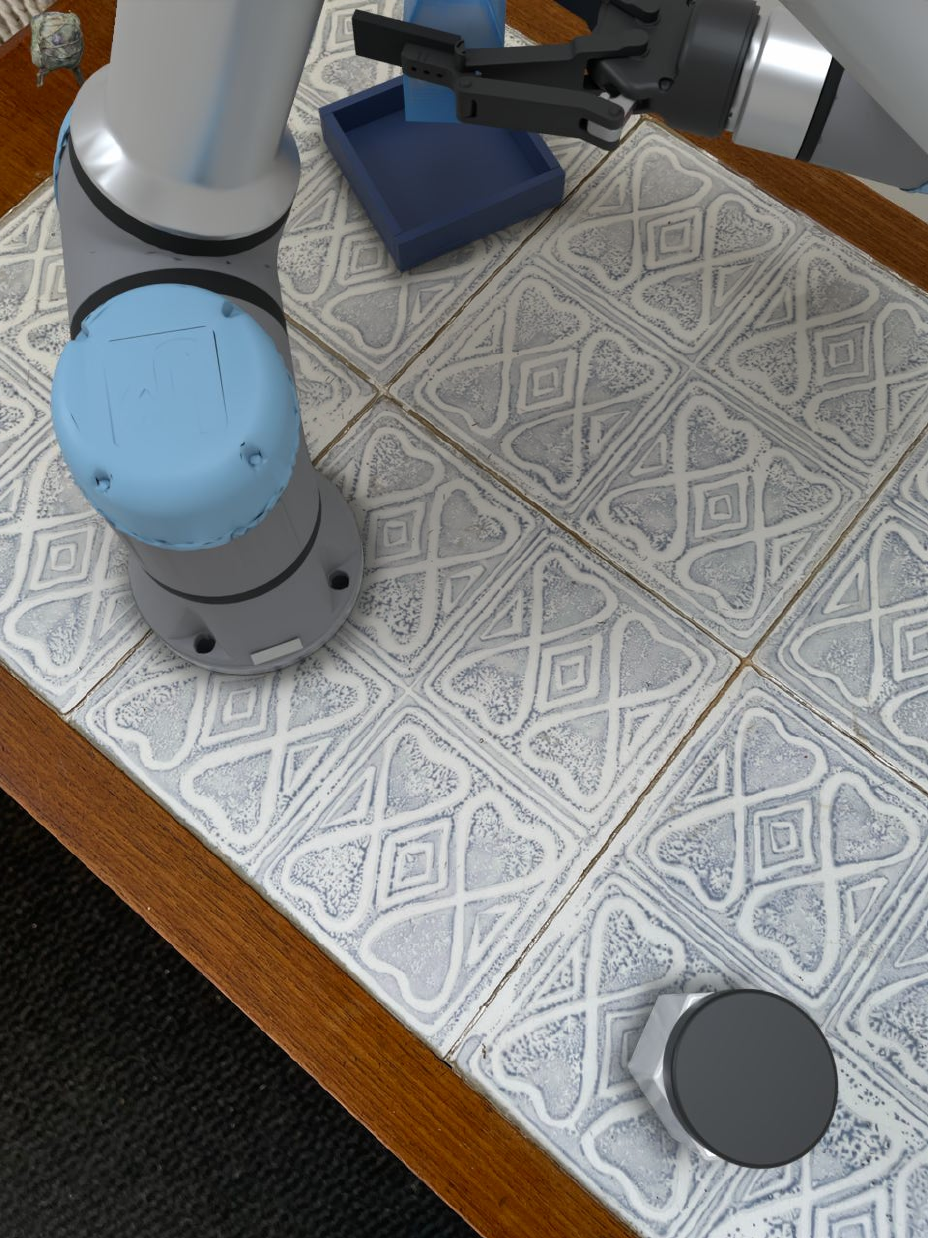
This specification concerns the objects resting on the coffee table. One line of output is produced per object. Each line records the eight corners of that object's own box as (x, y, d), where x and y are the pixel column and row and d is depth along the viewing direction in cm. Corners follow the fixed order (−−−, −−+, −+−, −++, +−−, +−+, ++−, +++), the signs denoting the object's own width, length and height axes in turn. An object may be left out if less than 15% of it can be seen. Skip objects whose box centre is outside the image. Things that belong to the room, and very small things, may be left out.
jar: (739, 1175, 63) (800, 1213, 52) (608, 1103, 65) (640, 1125, 53) (798, 1025, 66) (869, 1031, 55) (671, 958, 67) (714, 950, 56)
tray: (323, 140, 86) (318, 107, 83) (479, 76, 88) (480, 42, 85) (400, 273, 83) (398, 244, 79) (562, 203, 85) (566, 173, 82)
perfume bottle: (503, 49, 75) (511, -121, 64) (501, 124, 73) (508, -38, 62) (411, 46, 75) (402, -124, 64) (405, 120, 73) (395, -42, 62)
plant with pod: (241, 220, 84) (177, -6, 65) (98, 276, 82) (-9, 61, 63) (200, 141, 86) (128, -100, 67) (61, 194, 85) (-54, -37, 66)
